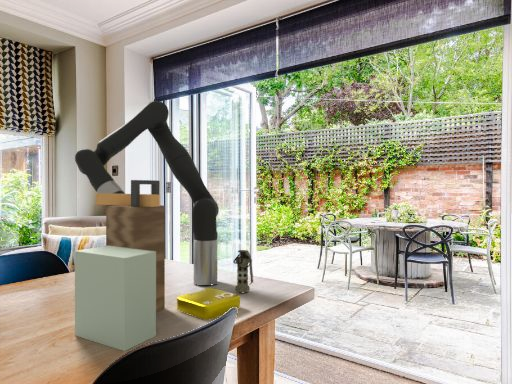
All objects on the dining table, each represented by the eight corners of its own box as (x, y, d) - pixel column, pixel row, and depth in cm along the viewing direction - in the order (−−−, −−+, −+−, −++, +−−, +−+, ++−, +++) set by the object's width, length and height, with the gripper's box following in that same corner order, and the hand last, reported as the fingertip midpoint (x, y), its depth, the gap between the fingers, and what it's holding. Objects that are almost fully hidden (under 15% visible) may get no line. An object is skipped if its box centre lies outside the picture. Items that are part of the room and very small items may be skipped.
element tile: (209, 299, 125) (209, 285, 125) (242, 309, 116) (242, 293, 116) (174, 310, 114) (174, 295, 114) (207, 322, 104) (207, 305, 104)
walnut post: (106, 312, 110) (106, 205, 110) (137, 302, 121) (137, 204, 120) (134, 320, 104) (134, 207, 104) (164, 308, 115) (164, 205, 114)
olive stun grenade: (230, 294, 130) (231, 251, 130) (240, 289, 137) (240, 248, 136) (246, 296, 127) (246, 253, 127) (256, 291, 134) (256, 250, 133)
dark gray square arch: (130, 206, 107) (130, 180, 106) (154, 205, 115) (154, 180, 115) (135, 207, 106) (135, 180, 105) (159, 205, 114) (159, 180, 114)
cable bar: (96, 204, 118) (96, 193, 118) (105, 203, 121) (105, 193, 121) (151, 206, 107) (151, 194, 107) (159, 206, 110) (159, 194, 110)
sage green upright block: (74, 335, 94) (74, 250, 93) (107, 322, 102) (107, 245, 102) (124, 351, 85) (124, 258, 85) (155, 335, 94) (156, 251, 93)
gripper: (107, 189, 120) (136, 227, 117) (132, 190, 134) (158, 224, 131) (92, 204, 121) (120, 242, 118) (118, 203, 135) (144, 238, 132)
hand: (140, 233), depth 125 cm, fingers open, 8 cm apart
